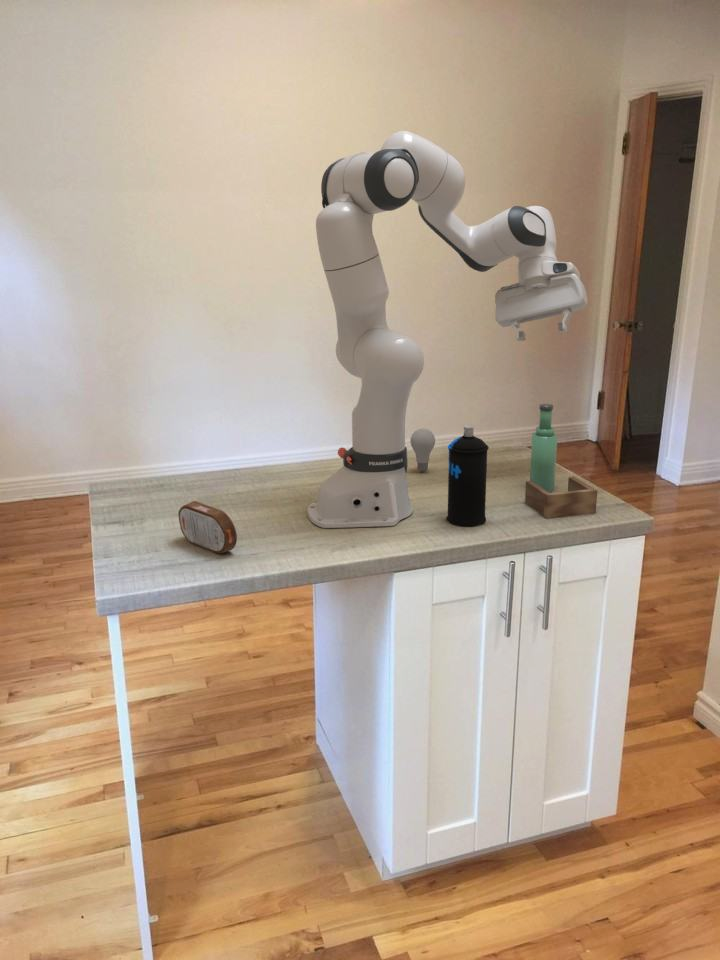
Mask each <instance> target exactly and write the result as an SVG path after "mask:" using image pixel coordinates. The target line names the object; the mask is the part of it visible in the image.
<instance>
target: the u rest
mask: <svg viewBox="0 0 720 960" xmlns="http://www.w3.org/2000/svg"><path fill="white" fill-rule="evenodd" d="M524 495H525V496H524V497H525V498H524V503H525V504H526V505H528V507H530V508H532V510H535V511H536V512H537V513H538V514H540V515H541V516H543V518H545V519H550V518H551V517H553V518H560V517H559V516H562V517H569V515H571V516H580V514H581V515H588V513H590V514H596V513H597V502H598V499H597V498H598V490H597V489H596V488H594V487H592V486H590V485H589V484H587V483H585V482H584V481H582V480H581V479H578V478H577V477H575V476H574V475H573V476H569V477H568V481H567V491H558V492H550V493H549V492H548V491H546V490H545V489H543V488H542V487H540V486H539V485H537V484H536V483H534V482H533V481H530V480H526V481H525V493H524ZM551 519H552V518H551Z"/></svg>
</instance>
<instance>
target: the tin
mask: <svg viewBox="0 0 720 960" xmlns="http://www.w3.org/2000/svg"><path fill="white" fill-rule="evenodd" d="M178 522H179V527H180V528H179V529H180V530H181V533H182V534H183V536H184V537H185V539H186V540H187V542H189V543H191V544H192V543H193V545H194V544H195V545H194V546H198V547H199V546H200V548H202V547H203V548H202V549H204V548H205V550H206V551H210V552H211V551H212V553H214V554H217V555H220V554H224V553H226V552H228V551H232V550H233V549H235V547H236V545H237V542H238V541H237V540H238V535H237V530H236V528H235V527H236V526H235V524H234V522H233V520H232V518H231V517H230V516H229V515H228V514H227V513H226V512H225V511H223V510H222V509H220V508H216V507H214V506H211V505H208V504H205V503H202V502H200V501H198V500H194V501H191V502H189V503H187V504H184V505H183V506H181V507H180V509H179V511H178Z"/></svg>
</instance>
